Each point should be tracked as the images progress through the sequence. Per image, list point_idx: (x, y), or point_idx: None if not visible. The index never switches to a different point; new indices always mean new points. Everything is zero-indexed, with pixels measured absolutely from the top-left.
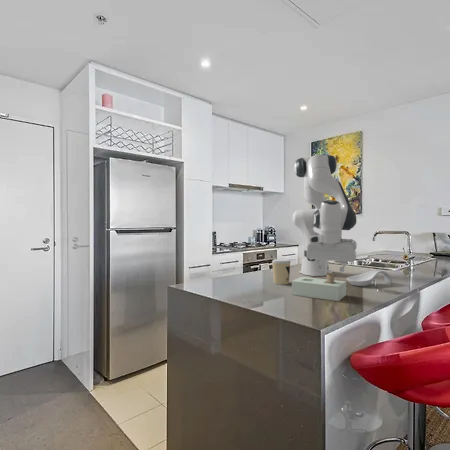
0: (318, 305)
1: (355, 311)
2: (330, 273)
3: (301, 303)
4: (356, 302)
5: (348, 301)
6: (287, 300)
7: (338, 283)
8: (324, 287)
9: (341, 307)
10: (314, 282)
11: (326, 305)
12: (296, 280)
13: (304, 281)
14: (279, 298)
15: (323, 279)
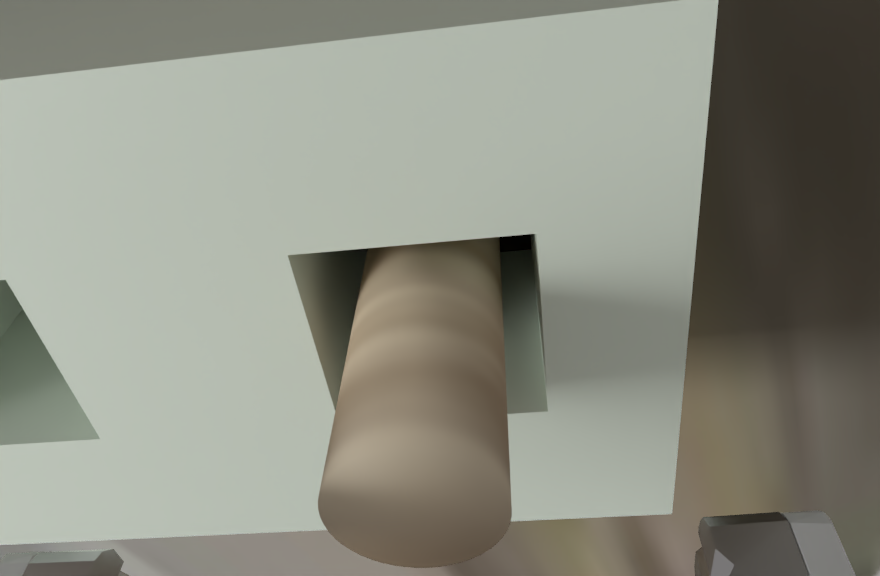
0: (498, 550)
1: (862, 540)
2: (436, 535)
3: (340, 569)
4: (869, 268)
5: (755, 282)
6: (179, 559)
7: (607, 336)
8: None
9: (716, 507)
10: (211, 476)
11: (563, 521)
12: None
13: (43, 493)
14: (73, 547)
15: (119, 135)
